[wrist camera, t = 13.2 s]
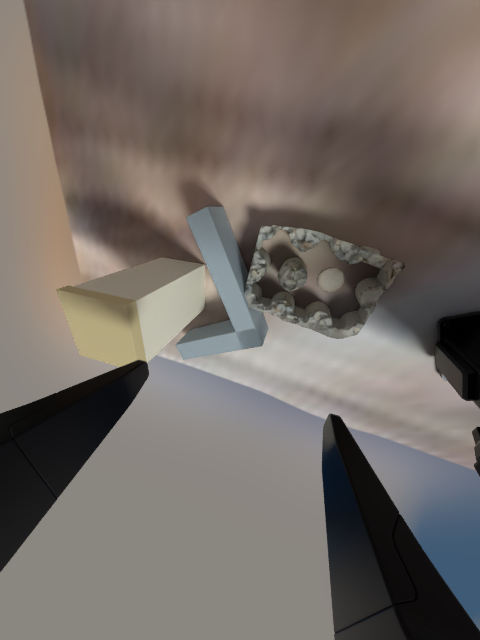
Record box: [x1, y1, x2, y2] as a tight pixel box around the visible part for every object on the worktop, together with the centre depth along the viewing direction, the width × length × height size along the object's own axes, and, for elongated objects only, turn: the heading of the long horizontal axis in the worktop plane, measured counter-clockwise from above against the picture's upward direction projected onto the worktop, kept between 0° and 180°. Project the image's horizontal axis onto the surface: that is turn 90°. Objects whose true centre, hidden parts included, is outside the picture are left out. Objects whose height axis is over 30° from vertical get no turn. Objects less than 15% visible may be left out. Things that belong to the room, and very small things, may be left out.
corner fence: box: [176, 207, 268, 360], centre depth 21 cm, size 10×12×4 cm
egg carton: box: [244, 225, 405, 339], centre depth 18 cm, size 11×8×4 cm
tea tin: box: [57, 257, 205, 367], centre depth 19 cm, size 5×5×11 cm
